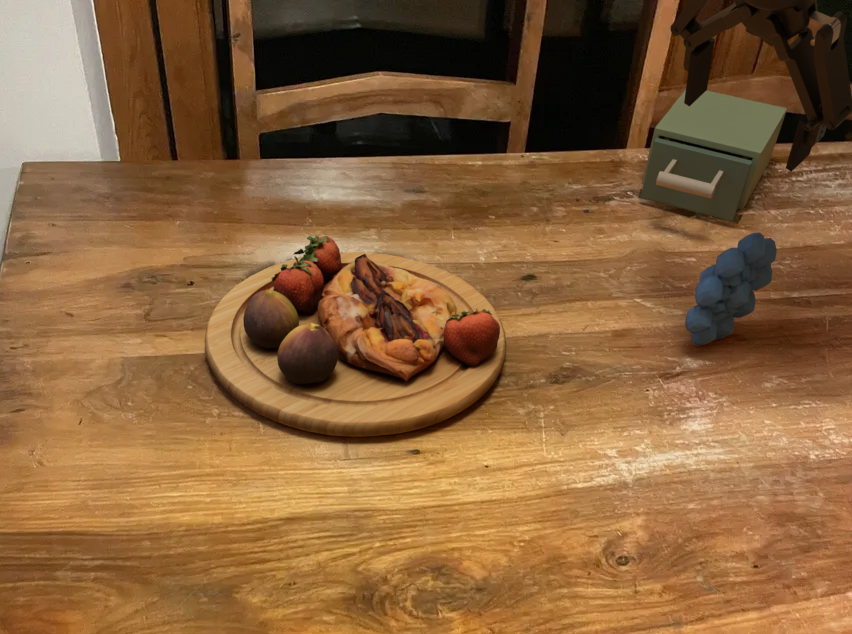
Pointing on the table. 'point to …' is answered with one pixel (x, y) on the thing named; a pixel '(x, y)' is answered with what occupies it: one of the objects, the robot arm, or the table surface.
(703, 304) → the grapes
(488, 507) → the table surface
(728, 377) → the table surface
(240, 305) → the wooden plate
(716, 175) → the drawer
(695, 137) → the cabinet
